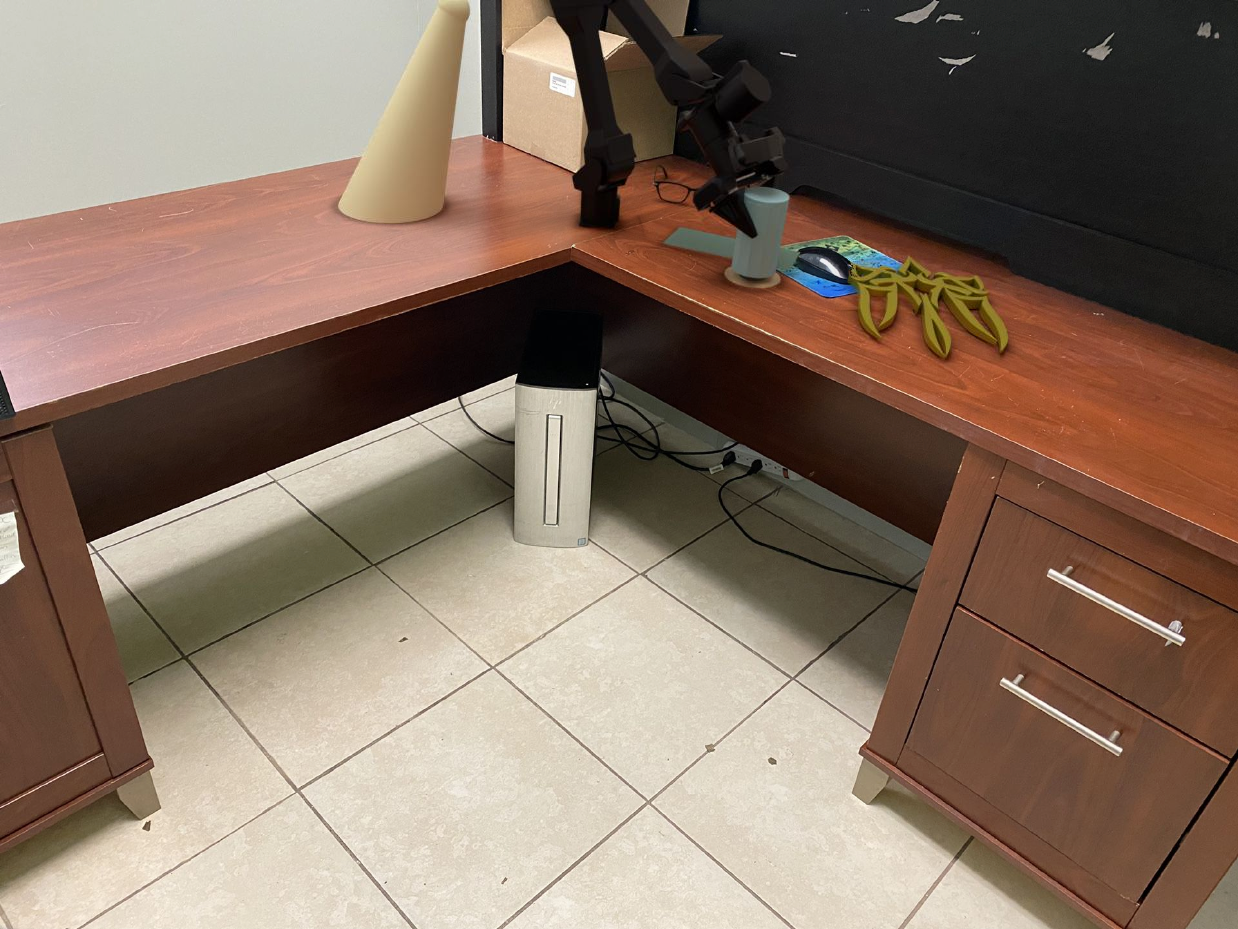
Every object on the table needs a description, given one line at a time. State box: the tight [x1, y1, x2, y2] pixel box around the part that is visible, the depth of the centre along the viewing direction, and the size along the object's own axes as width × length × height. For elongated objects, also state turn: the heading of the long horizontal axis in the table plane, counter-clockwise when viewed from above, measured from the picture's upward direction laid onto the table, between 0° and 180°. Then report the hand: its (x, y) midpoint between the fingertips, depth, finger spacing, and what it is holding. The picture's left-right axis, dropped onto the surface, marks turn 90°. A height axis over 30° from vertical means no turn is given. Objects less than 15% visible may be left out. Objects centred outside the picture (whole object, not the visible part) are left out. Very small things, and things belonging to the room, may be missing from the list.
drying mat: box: [662, 226, 801, 272], centre depth 148 cm, size 22×9×1 cm, turn 68°
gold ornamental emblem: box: [847, 254, 1009, 359], centre depth 133 cm, size 22×2×35 cm
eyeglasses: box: [652, 164, 714, 209], centre depth 170 cm, size 16×16×4 cm
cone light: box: [337, 0, 471, 224], centre depth 144 cm, size 25×18×35 cm
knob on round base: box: [723, 265, 781, 289], centre depth 137 cm, size 9×9×6 cm
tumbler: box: [730, 187, 790, 278], centre depth 134 cm, size 7×7×12 cm
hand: (767, 231), depth 133 cm, fingers closed on tumbler, 7 cm apart
